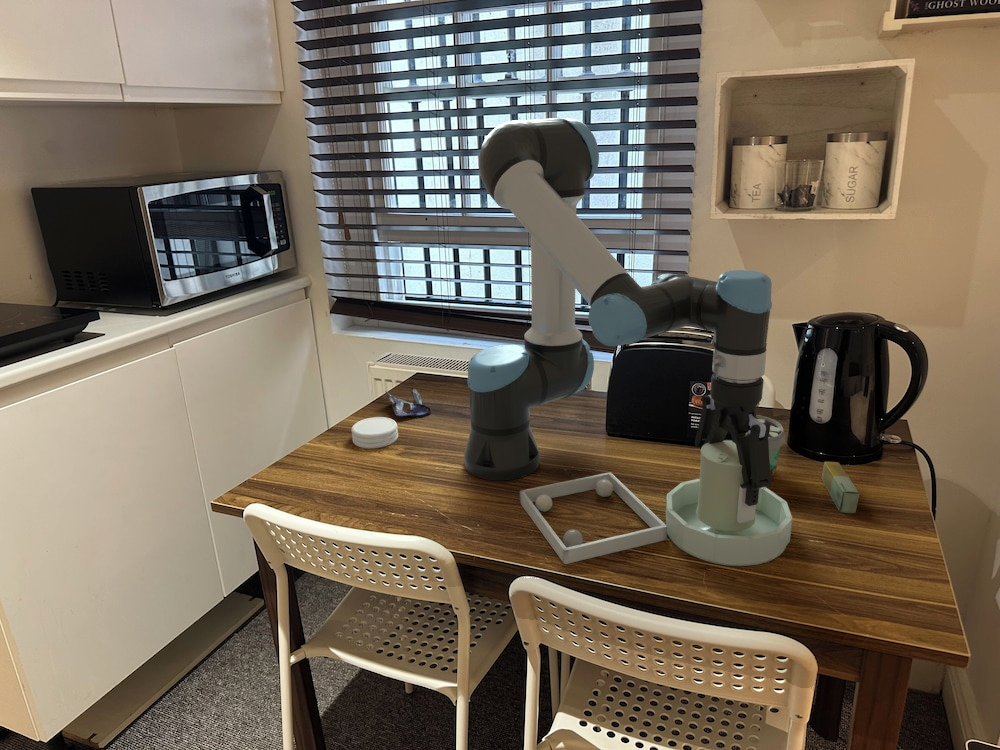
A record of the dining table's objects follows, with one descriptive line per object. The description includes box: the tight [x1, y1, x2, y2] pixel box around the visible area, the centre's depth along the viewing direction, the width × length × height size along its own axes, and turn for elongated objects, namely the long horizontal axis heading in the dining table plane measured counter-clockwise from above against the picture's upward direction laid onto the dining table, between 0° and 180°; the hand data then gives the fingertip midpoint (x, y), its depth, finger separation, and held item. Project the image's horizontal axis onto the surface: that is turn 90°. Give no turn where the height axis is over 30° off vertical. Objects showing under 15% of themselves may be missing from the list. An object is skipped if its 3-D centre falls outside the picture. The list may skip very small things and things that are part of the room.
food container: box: [745, 414, 786, 483], centre depth 132 cm, size 12×6×10 cm, turn 168°
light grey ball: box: [594, 479, 614, 498], centre depth 128 cm, size 3×3×3 cm
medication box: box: [821, 461, 860, 514], centre depth 125 cm, size 12×3×4 cm, turn 172°
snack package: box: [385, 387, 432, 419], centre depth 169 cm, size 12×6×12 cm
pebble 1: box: [534, 494, 553, 513], centre depth 124 cm, size 3×3×3 cm
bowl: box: [665, 478, 793, 567], centre depth 115 cm, size 19×19×5 cm
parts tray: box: [519, 471, 668, 565], centre depth 120 cm, size 20×18×2 cm
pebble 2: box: [562, 528, 584, 548], centre depth 113 cm, size 3×3×3 cm
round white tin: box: [351, 416, 399, 450], centre depth 155 cm, size 10×10×4 cm
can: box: [696, 439, 756, 531], centre depth 113 cm, size 9×9×12 cm
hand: (726, 505), depth 114 cm, fingers closed on can, 9 cm apart
